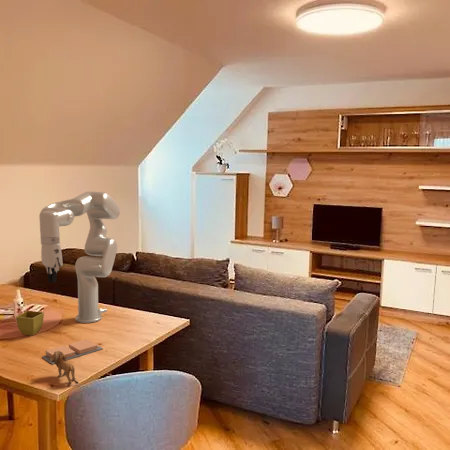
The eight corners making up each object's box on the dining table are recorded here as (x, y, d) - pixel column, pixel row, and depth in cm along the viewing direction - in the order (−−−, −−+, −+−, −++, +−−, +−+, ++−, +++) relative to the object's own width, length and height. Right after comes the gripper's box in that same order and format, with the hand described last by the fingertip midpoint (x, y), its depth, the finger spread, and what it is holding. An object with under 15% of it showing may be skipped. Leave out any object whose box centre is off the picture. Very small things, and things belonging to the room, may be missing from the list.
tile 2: (86, 339, 200) (97, 345, 193) (86, 343, 200) (97, 349, 194) (68, 344, 194) (79, 350, 188) (68, 348, 194) (79, 354, 188)
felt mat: (91, 343, 201) (91, 342, 201) (102, 349, 195) (102, 348, 195) (41, 357, 185) (41, 356, 185) (52, 364, 179) (52, 363, 179)
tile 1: (64, 345, 192) (75, 351, 186) (64, 349, 193) (75, 355, 187) (45, 350, 187) (56, 357, 181) (45, 354, 187) (56, 361, 181)
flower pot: (33, 337, 205) (32, 318, 204) (15, 336, 207) (15, 316, 206) (45, 331, 214) (44, 312, 212) (28, 329, 215) (27, 310, 214)
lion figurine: (48, 375, 170) (47, 351, 169) (61, 370, 174) (60, 347, 173) (72, 387, 161) (71, 363, 160) (85, 382, 166) (84, 358, 164)
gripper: (67, 241, 193) (69, 284, 197) (50, 236, 203) (52, 276, 206) (50, 244, 188) (52, 287, 191) (33, 238, 198) (35, 280, 201)
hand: (52, 282), depth 199 cm, fingers closed
